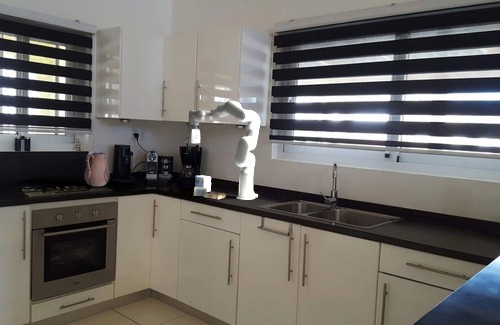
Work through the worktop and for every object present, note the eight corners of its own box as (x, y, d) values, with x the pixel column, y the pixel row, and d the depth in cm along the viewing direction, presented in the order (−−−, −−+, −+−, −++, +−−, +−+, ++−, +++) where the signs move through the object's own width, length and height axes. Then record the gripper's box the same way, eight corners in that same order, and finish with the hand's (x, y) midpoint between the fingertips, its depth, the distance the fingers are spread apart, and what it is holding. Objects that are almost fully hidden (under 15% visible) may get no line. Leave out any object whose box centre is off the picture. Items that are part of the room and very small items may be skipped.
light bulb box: (194, 189, 309) (195, 175, 308) (201, 189, 313) (202, 175, 312) (203, 192, 301) (204, 177, 300) (210, 191, 306) (211, 176, 305)
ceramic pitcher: (113, 184, 317) (113, 152, 315) (100, 188, 296) (100, 154, 294) (91, 183, 319) (91, 151, 317) (77, 187, 298) (77, 153, 296)
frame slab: (207, 195, 289) (207, 187, 288) (207, 196, 285) (207, 188, 285) (194, 194, 288) (194, 187, 288) (194, 195, 285) (194, 187, 284)
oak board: (225, 197, 284) (225, 193, 284) (218, 199, 275) (218, 195, 275) (211, 195, 289) (212, 191, 288) (204, 197, 280) (204, 193, 279)
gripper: (189, 127, 287) (188, 152, 289) (205, 127, 301) (204, 151, 303) (181, 127, 291) (180, 151, 293) (197, 127, 305) (196, 150, 307)
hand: (192, 151), depth 298 cm, fingers open, 9 cm apart
